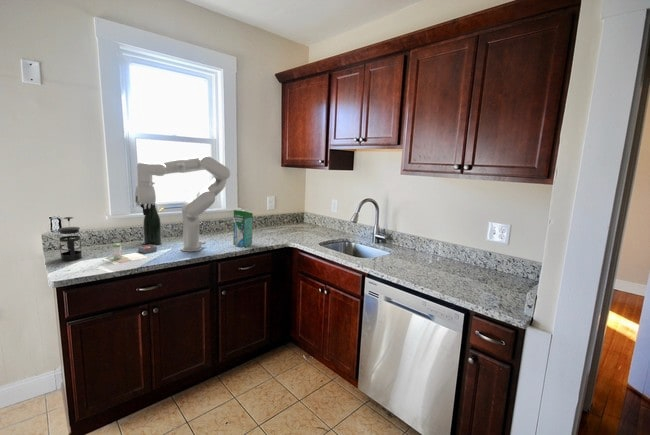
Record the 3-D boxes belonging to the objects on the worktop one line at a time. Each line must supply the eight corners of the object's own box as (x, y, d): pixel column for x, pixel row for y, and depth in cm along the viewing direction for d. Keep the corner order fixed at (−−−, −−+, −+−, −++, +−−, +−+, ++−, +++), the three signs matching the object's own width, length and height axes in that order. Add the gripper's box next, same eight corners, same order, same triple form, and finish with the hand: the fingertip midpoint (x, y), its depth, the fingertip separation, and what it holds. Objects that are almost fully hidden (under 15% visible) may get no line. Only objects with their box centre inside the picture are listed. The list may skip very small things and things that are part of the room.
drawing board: (136, 253, 189) (136, 251, 188) (151, 258, 180) (151, 256, 180) (98, 261, 172) (98, 259, 172) (113, 267, 163) (113, 265, 163)
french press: (59, 257, 174) (56, 216, 170) (80, 255, 180) (78, 215, 177) (61, 263, 166) (58, 219, 162) (84, 260, 172) (81, 218, 169)
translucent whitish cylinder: (121, 256, 177) (120, 242, 176) (123, 258, 175) (122, 244, 173) (112, 257, 174) (111, 243, 173) (114, 260, 172) (113, 245, 170)
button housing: (150, 250, 196) (150, 244, 195) (156, 252, 192) (156, 246, 192) (138, 253, 190) (138, 246, 189) (145, 255, 186) (144, 248, 186)
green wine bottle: (161, 244, 211) (160, 195, 206) (143, 246, 206) (141, 195, 201) (161, 241, 220) (159, 193, 215) (143, 242, 215) (142, 193, 210)
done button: (149, 250, 194) (149, 245, 193) (152, 251, 192) (152, 247, 191) (142, 251, 190) (142, 247, 190) (146, 253, 188) (146, 248, 188)
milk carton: (252, 245, 222) (252, 209, 219) (243, 247, 214) (244, 211, 210) (241, 243, 226) (242, 208, 222) (233, 245, 218) (233, 209, 214)
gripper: (154, 183, 193) (155, 213, 196) (128, 183, 180) (129, 215, 183) (161, 184, 189) (162, 214, 192) (135, 184, 176) (136, 217, 179)
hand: (146, 215), depth 188 cm, fingers closed
